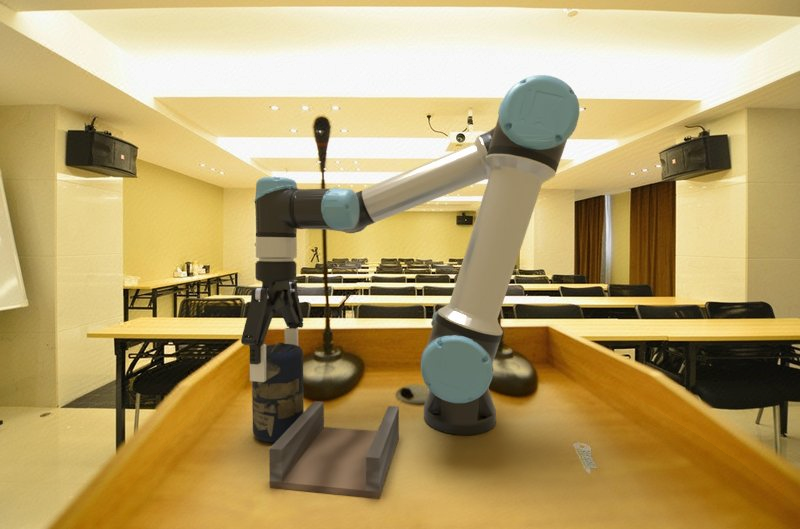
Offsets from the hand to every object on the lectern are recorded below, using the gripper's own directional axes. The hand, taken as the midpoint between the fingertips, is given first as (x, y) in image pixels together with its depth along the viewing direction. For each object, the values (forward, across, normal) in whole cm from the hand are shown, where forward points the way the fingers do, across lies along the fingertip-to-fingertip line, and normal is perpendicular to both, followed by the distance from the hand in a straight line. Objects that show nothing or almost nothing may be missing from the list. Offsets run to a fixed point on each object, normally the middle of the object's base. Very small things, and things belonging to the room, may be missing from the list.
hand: (276, 369), depth 74 cm
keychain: (+12, 0, +58) cm, 59 cm away
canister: (+13, 0, +1) cm, 13 cm away
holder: (+13, +7, +16) cm, 21 cm away
